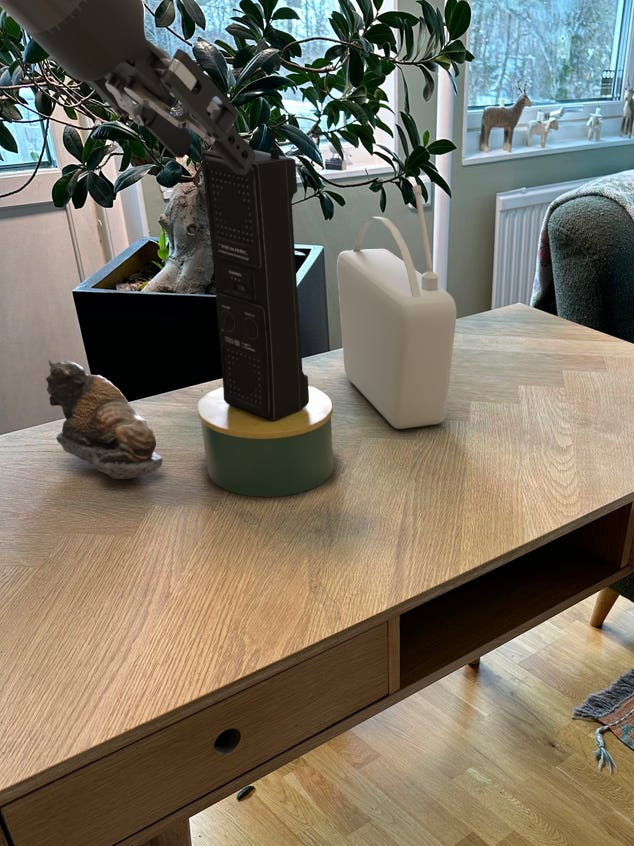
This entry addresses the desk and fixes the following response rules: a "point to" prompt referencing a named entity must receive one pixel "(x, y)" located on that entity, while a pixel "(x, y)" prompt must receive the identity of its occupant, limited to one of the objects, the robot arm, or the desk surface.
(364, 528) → the desk surface
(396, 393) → the white watering can
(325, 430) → the tin
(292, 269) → the portable radio
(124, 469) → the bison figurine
